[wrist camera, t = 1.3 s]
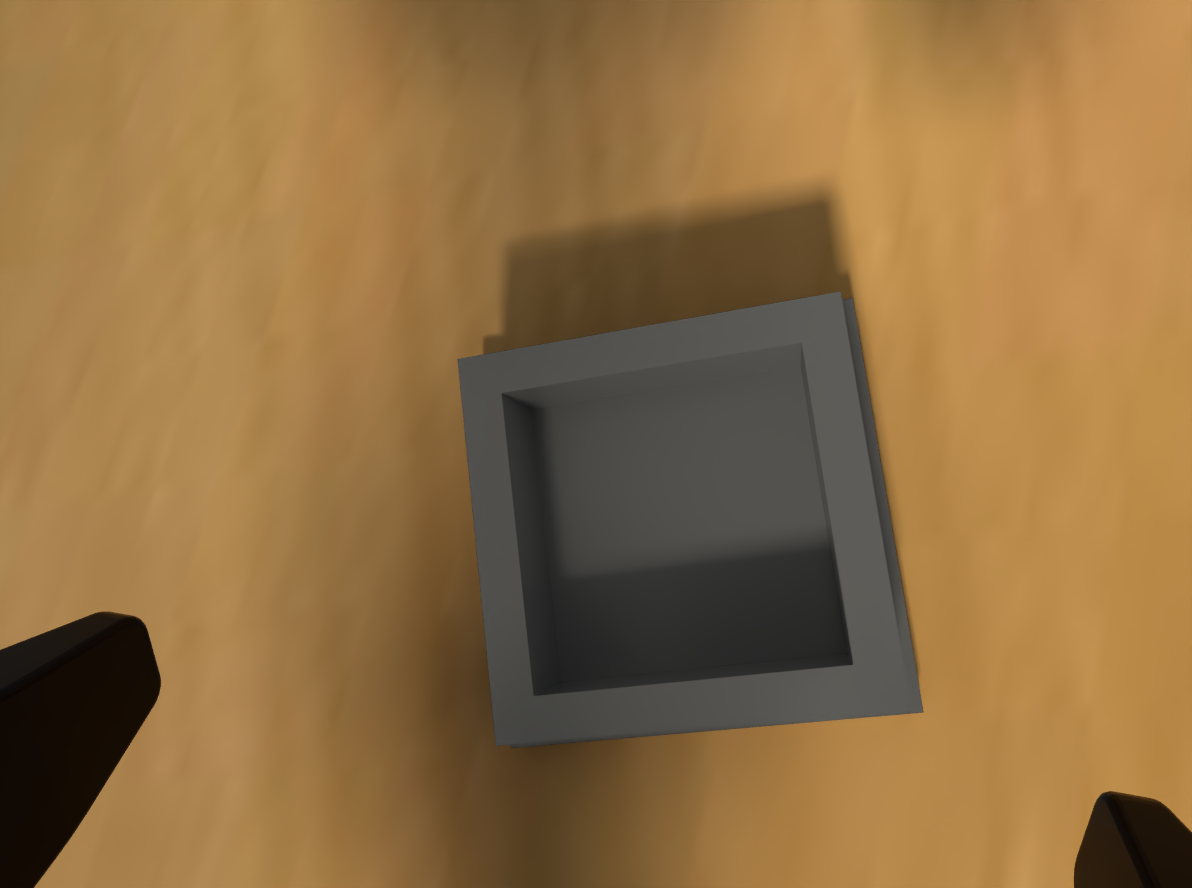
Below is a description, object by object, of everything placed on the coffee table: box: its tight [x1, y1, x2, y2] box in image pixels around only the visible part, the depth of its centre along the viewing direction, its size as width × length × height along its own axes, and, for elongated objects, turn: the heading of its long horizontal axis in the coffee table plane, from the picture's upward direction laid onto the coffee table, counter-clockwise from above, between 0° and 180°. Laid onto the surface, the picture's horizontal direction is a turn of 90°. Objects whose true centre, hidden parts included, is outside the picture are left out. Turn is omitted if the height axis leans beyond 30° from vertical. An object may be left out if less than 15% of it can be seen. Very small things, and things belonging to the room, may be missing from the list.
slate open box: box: [458, 291, 923, 748], centre depth 22 cm, size 10×10×3 cm
